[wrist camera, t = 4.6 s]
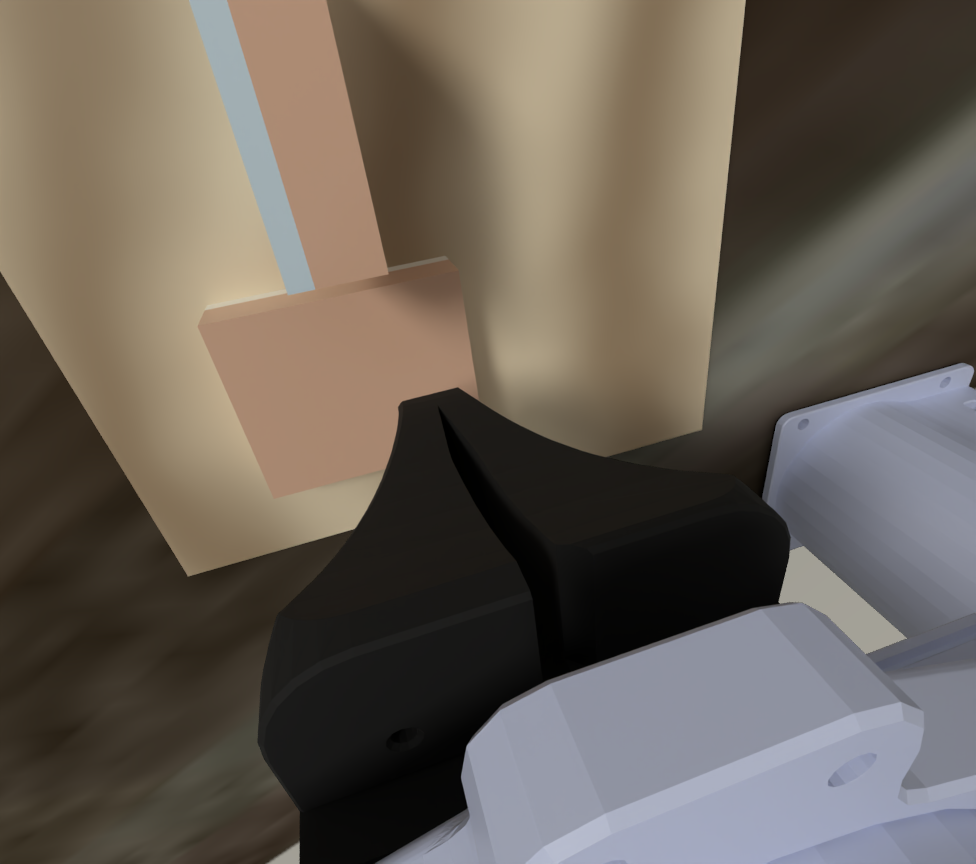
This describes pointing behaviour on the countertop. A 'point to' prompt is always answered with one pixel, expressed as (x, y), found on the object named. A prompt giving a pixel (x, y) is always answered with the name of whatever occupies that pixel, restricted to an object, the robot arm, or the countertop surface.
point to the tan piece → (295, 136)
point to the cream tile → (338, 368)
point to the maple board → (400, 218)
